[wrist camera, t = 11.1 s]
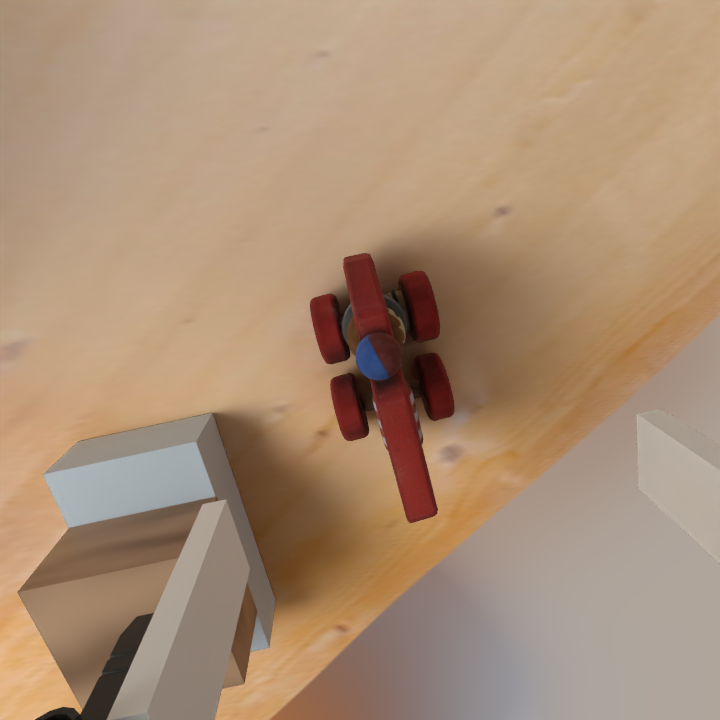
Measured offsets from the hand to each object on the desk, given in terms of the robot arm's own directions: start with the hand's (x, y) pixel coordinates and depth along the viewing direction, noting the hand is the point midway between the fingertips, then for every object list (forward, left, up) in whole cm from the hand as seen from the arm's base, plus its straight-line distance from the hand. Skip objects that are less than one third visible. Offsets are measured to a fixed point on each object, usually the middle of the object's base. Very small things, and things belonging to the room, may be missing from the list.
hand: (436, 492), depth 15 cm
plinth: (+10, -16, -16) cm, 25 cm away
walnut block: (+10, -16, -12) cm, 22 cm away
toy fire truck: (0, 0, -16) cm, 16 cm away
